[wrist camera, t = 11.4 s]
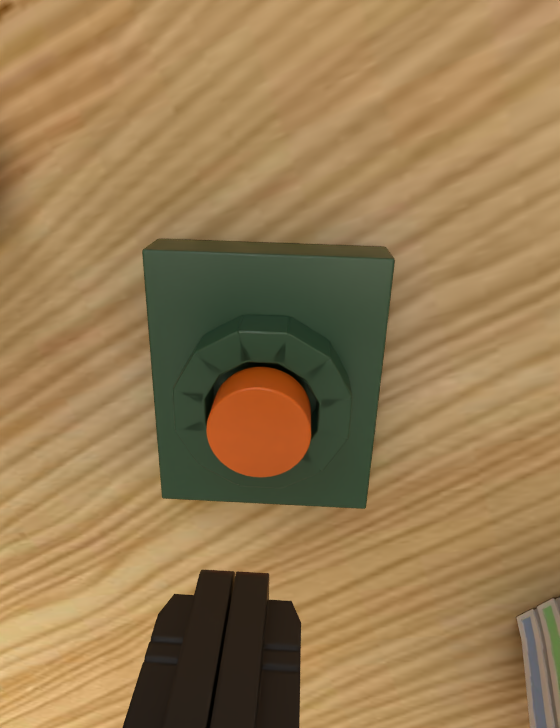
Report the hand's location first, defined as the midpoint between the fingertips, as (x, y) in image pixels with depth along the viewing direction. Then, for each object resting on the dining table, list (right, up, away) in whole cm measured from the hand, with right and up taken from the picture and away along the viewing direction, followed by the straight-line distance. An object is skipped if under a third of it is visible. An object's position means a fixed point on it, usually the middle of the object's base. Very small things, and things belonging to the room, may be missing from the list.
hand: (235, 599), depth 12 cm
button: (0, +3, +8) cm, 9 cm away
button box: (+1, +5, +11) cm, 12 cm away
